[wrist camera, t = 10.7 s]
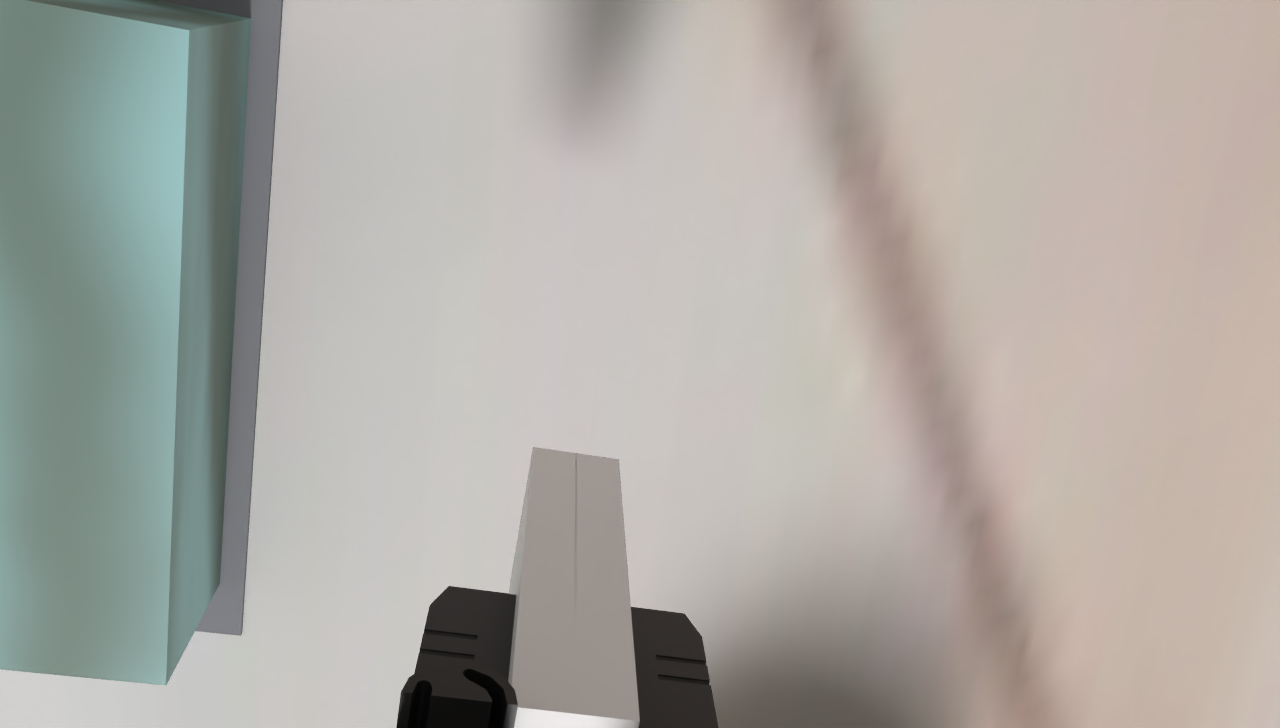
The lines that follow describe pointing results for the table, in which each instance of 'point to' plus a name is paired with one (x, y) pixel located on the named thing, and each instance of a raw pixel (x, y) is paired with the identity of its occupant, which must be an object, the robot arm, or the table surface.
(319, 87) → the table surface
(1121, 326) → the table surface
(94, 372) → the t block
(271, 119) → the pad
